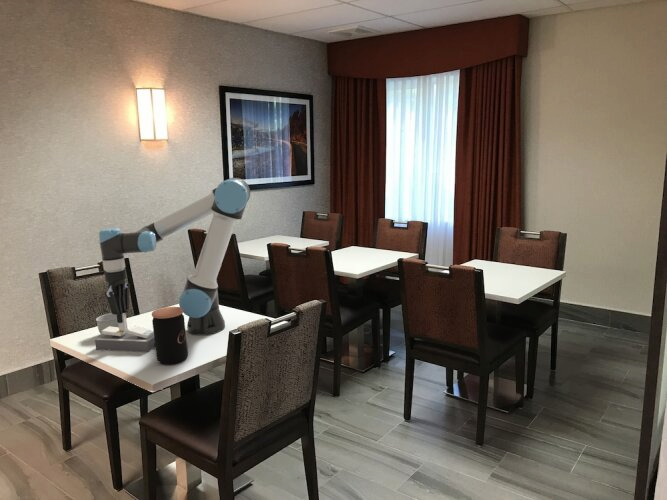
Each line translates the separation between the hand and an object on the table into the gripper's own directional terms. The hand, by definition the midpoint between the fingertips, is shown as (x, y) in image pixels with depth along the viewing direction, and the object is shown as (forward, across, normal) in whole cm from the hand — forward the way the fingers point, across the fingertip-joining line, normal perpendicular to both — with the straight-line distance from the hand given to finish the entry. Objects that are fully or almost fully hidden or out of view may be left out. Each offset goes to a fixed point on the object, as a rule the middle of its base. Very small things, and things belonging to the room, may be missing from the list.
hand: (123, 329), depth 208 cm
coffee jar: (+7, +11, +26) cm, 29 cm away
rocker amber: (+1, 0, -4) cm, 4 cm away
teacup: (+7, -13, -13) cm, 20 cm away
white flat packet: (+1, 0, +7) cm, 7 cm away
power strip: (+7, 0, +4) cm, 8 cm away
